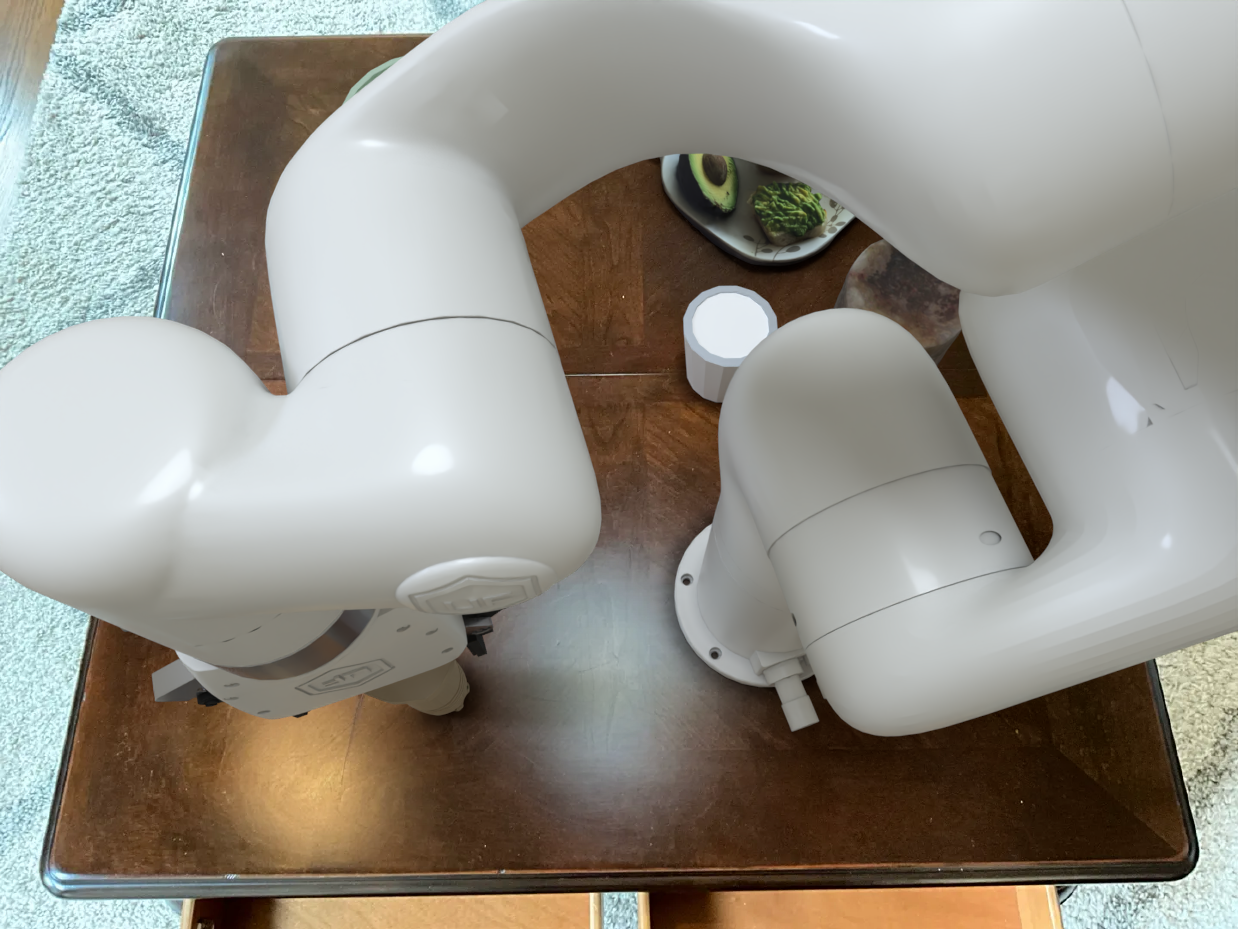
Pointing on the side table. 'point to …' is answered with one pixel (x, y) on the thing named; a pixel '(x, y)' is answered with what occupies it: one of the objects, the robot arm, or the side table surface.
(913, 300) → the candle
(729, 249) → the avocado toast plate
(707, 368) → the white short cylinder
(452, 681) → the handle
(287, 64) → the side table surface
